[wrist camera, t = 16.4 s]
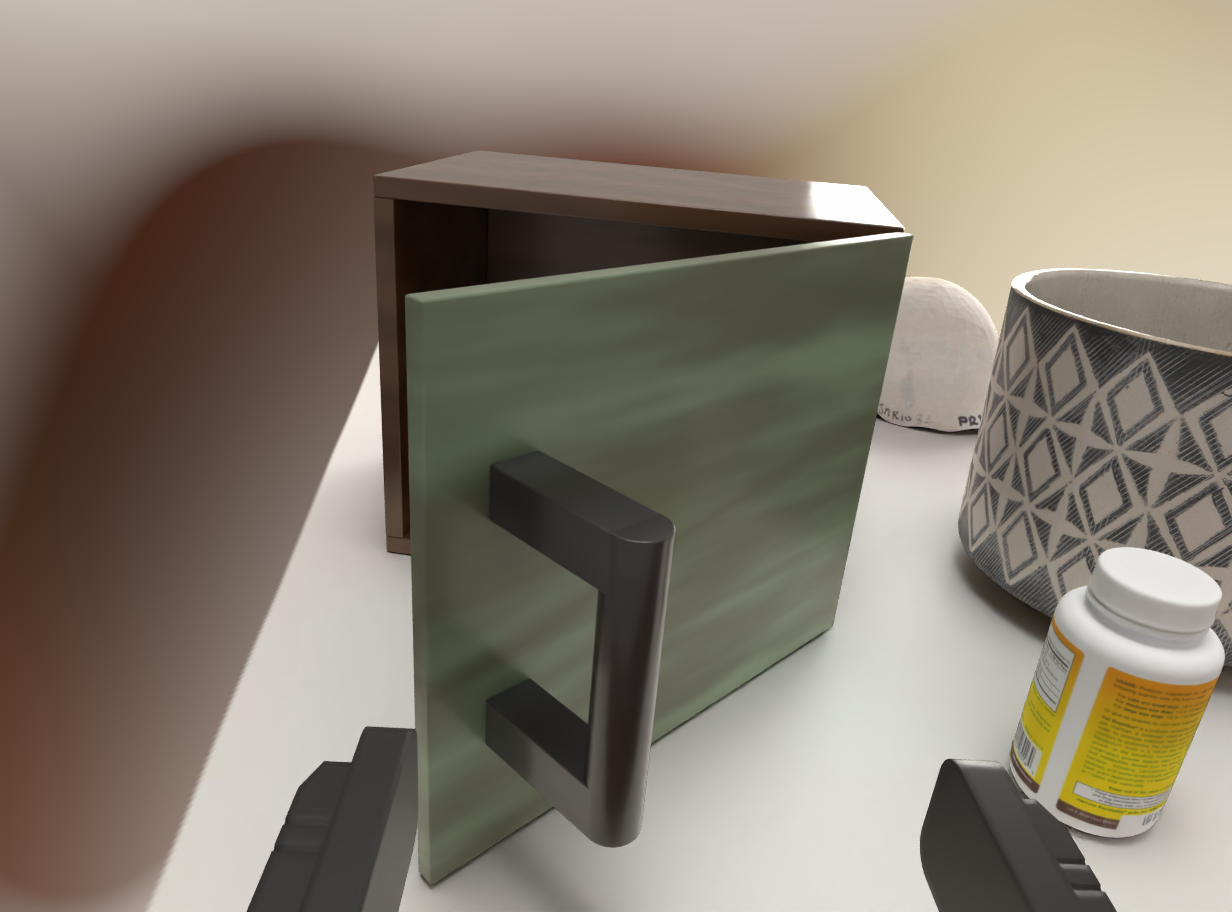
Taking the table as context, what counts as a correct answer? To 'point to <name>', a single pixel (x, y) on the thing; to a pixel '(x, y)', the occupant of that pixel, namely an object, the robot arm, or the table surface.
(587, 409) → the cupboard door
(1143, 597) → the supplement bottle
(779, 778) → the table surface
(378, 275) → the cupboard
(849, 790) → the table surface
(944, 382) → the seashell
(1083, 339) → the planter
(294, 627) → the table surface
